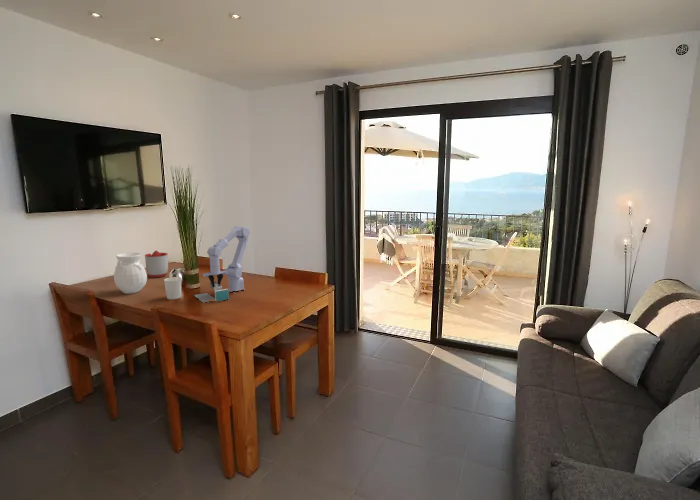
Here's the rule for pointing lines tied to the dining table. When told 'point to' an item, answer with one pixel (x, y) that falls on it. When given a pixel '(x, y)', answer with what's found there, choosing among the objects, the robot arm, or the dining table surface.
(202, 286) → the dining table surface
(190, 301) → the dining table surface
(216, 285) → the two-tone grey bar
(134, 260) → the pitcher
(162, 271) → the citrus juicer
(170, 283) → the candle holder
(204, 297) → the mat
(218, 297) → the tile
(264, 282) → the dining table surface
